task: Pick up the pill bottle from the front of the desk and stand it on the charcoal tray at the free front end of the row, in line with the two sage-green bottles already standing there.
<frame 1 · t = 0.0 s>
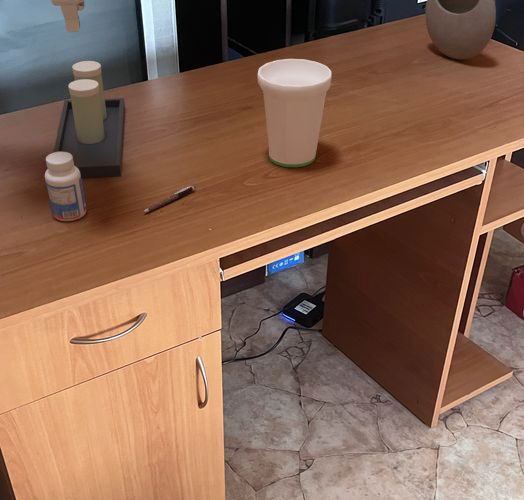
hand: (76, 19, 112), 28 cm above the table, tool pointing down, fingers open, 8 cm apart
cup: (292, 157, 141), on the table
planter: (452, 58, 178), on the table
pill bottle: (69, 214, 125), on the table
bottle back: (93, 117, 151), point 1 cm above the table, touching tray
pen: (170, 202, 128), on the table
bottle mid: (91, 138, 145), point 1 cm above the table, touching tray
tray: (91, 141, 145), on the table
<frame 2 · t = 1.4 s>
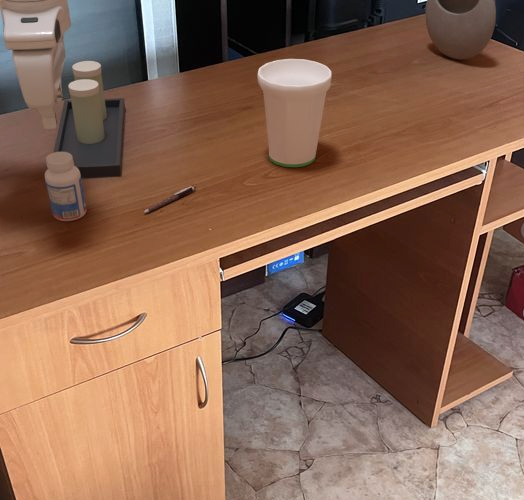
hand: (53, 113, 115), 17 cm above the table, tool pointing down, fingers open, 8 cm apart
nothing on the table moved.
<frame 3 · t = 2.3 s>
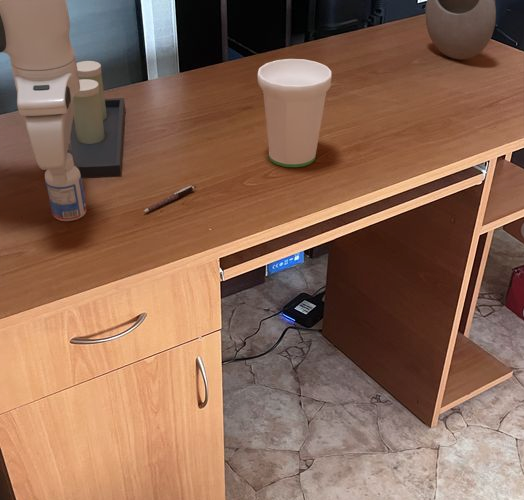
hand: (63, 168, 120), 8 cm above the table, tool pointing down, fingers open, 8 cm apart
nothing on the table moved.
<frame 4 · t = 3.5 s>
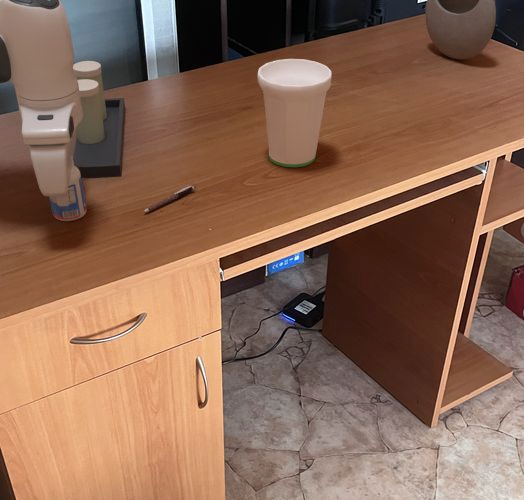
hand: (65, 193, 123), 4 cm above the table, tool pointing down, fingers closed on pill bottle, 5 cm apart
pill bottle: (69, 214, 125), on the table, touching gripper
everything else where it was.
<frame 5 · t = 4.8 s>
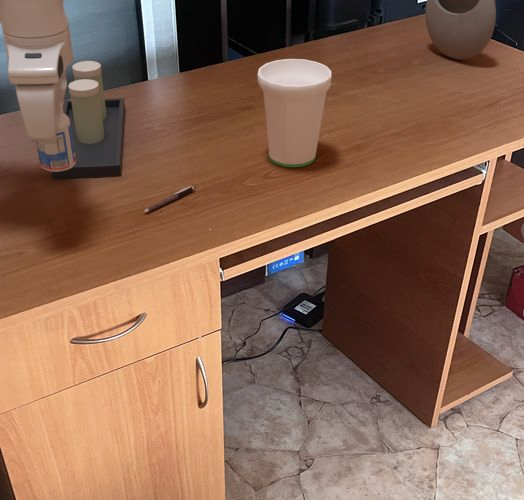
hand: (54, 142, 117), 12 cm above the table, tool pointing down, fingers closed on pill bottle, 5 cm apart
pill bottle: (58, 165, 120), point 8 cm above the table, touching gripper
everything else where it was.
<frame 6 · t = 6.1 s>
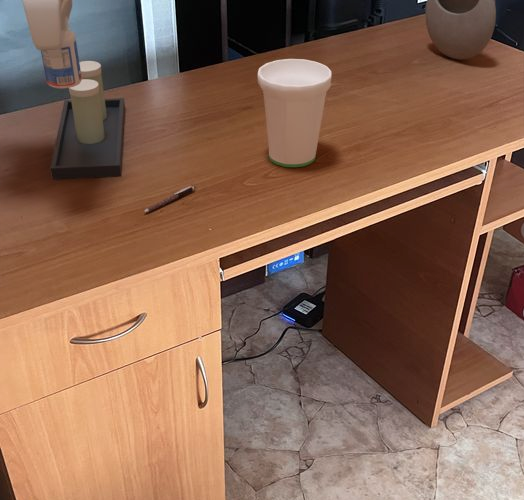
hand: (60, 59, 119), 21 cm above the table, tool pointing down, fingers closed on pill bottle, 5 cm apart
pill bottle: (64, 83, 122), point 17 cm above the table, touching gripper
everything else where it was.
when the fingers open (4 cm above the table, at t = 11.1 s): pill bottle stays where it is, resting on tray.
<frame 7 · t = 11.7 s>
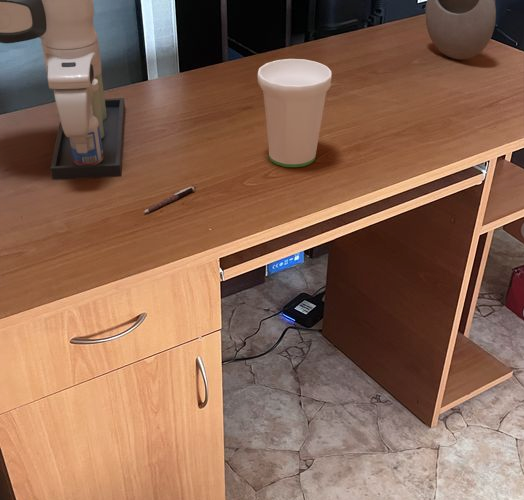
hand: (84, 139, 135), 5 cm above the table, tool pointing down, fingers open, 8 cm apart
pill bottle: (88, 161, 138), resting on tray
bottle mid: (90, 136, 144), point 1 cm above the table, touching gripper
everything else where it was.
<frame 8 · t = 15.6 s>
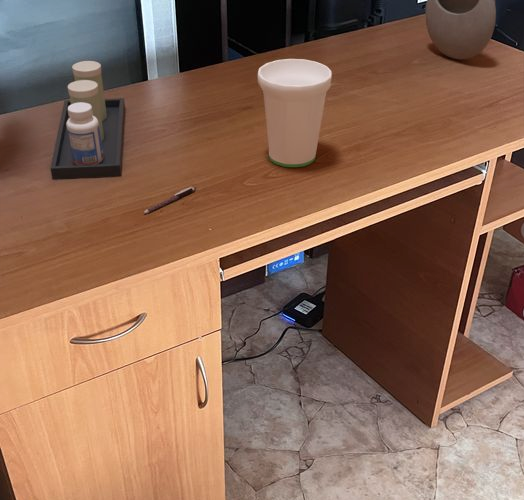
bottle mid: (90, 138, 144), point 1 cm above the table, touching tray
everything else where it was.
at the end: pill bottle 0.1 cm from the target spot in the tray, point 0.4 cm above the tray's base; pill bottle tilted 0°; bottle mid moved 0.4 cm from its start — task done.
